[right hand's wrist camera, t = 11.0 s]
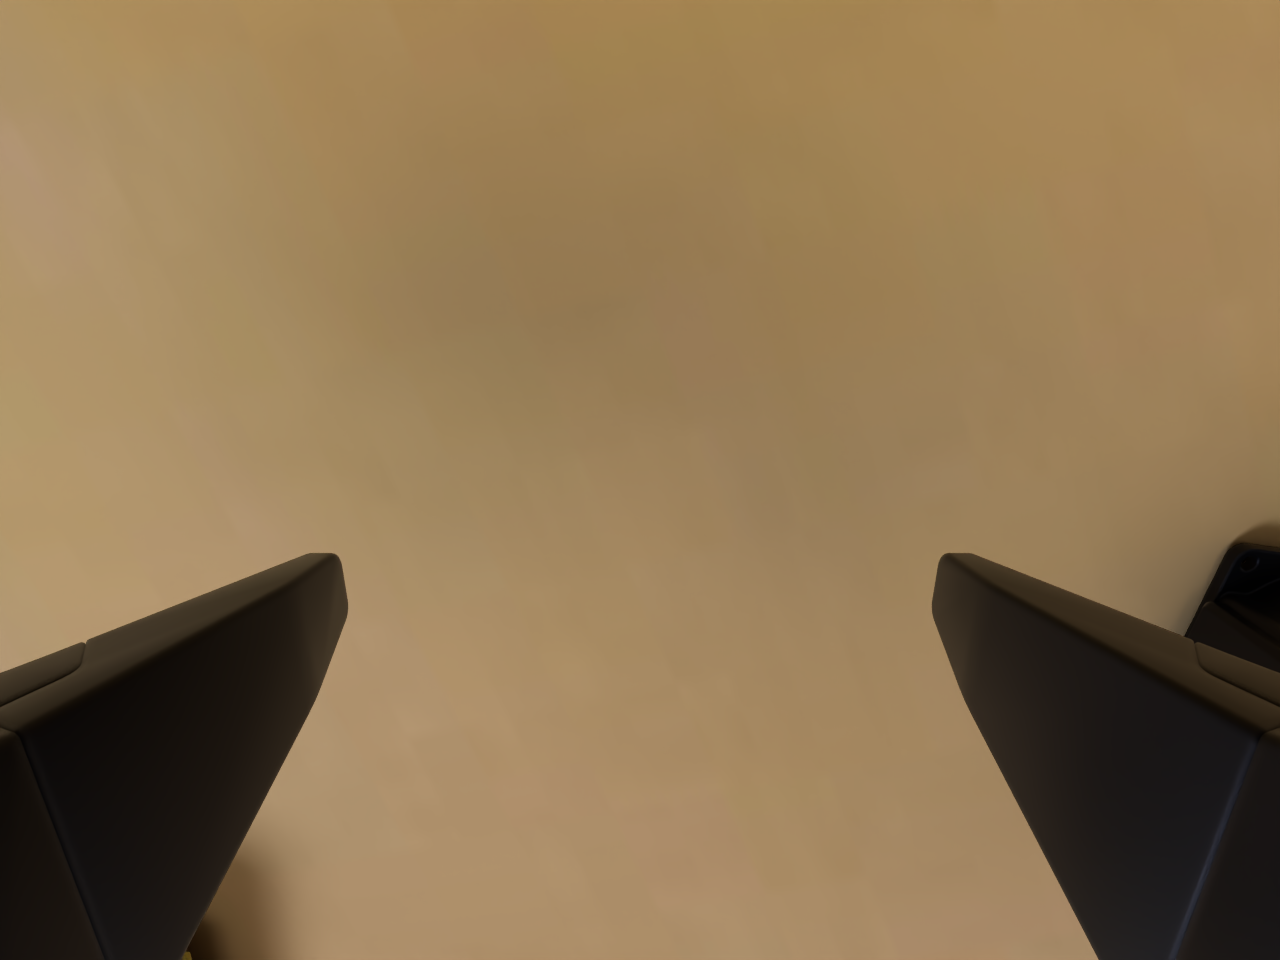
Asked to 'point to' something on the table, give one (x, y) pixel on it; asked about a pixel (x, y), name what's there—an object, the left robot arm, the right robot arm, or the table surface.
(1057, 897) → the table surface
